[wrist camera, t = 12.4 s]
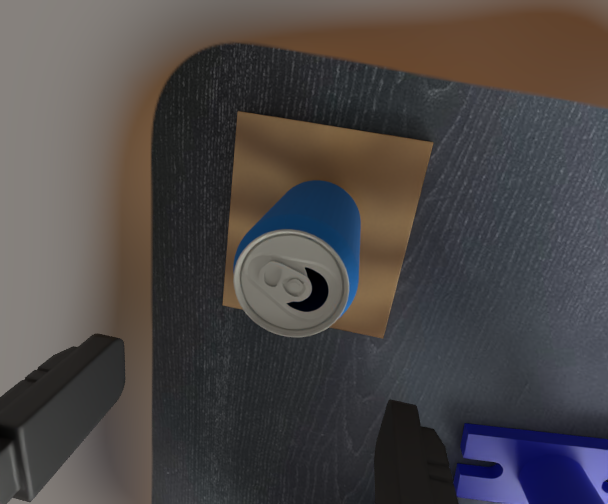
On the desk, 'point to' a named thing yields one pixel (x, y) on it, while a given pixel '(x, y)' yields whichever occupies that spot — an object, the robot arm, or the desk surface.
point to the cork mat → (344, 173)
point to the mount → (532, 467)
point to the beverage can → (300, 261)
